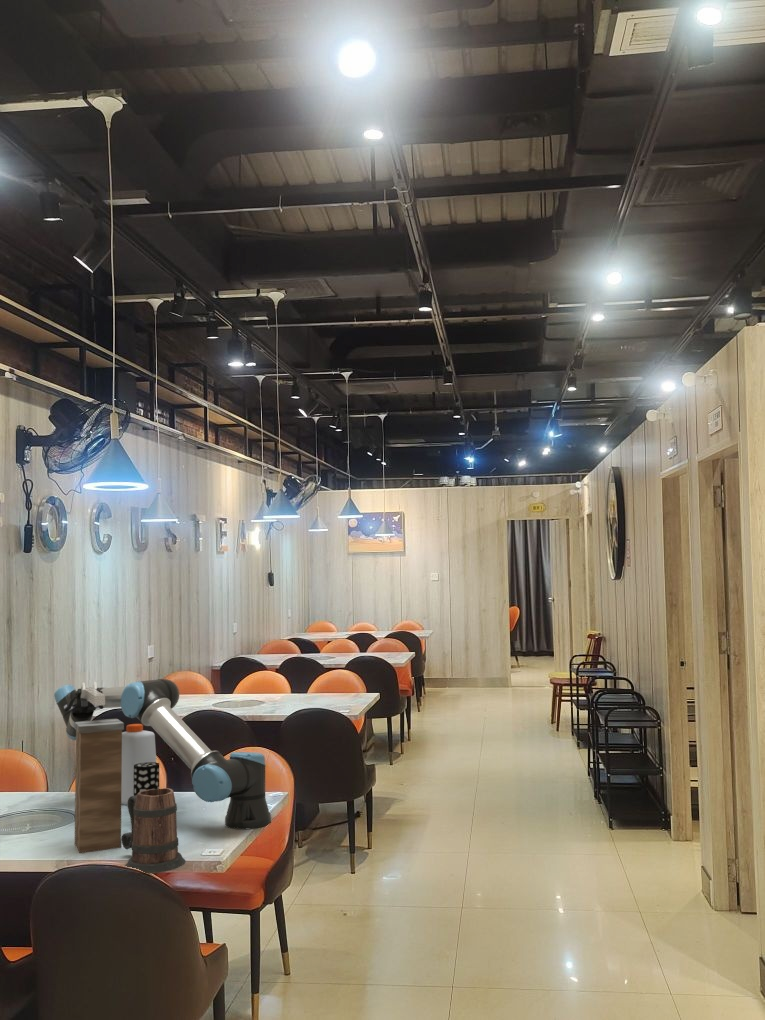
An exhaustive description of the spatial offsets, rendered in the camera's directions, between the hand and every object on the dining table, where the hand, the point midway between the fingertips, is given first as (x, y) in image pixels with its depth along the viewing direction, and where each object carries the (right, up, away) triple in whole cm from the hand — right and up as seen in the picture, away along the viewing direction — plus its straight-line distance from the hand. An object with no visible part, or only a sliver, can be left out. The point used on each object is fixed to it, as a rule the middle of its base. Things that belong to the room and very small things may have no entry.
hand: (89, 685), depth 286 cm
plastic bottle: (+4, -51, +36) cm, 62 cm away
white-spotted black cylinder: (+20, -46, -3) cm, 51 cm away
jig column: (+11, -44, -24) cm, 51 cm away
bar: (+4, -3, -7) cm, 9 cm away
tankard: (+31, -42, -43) cm, 68 cm away
